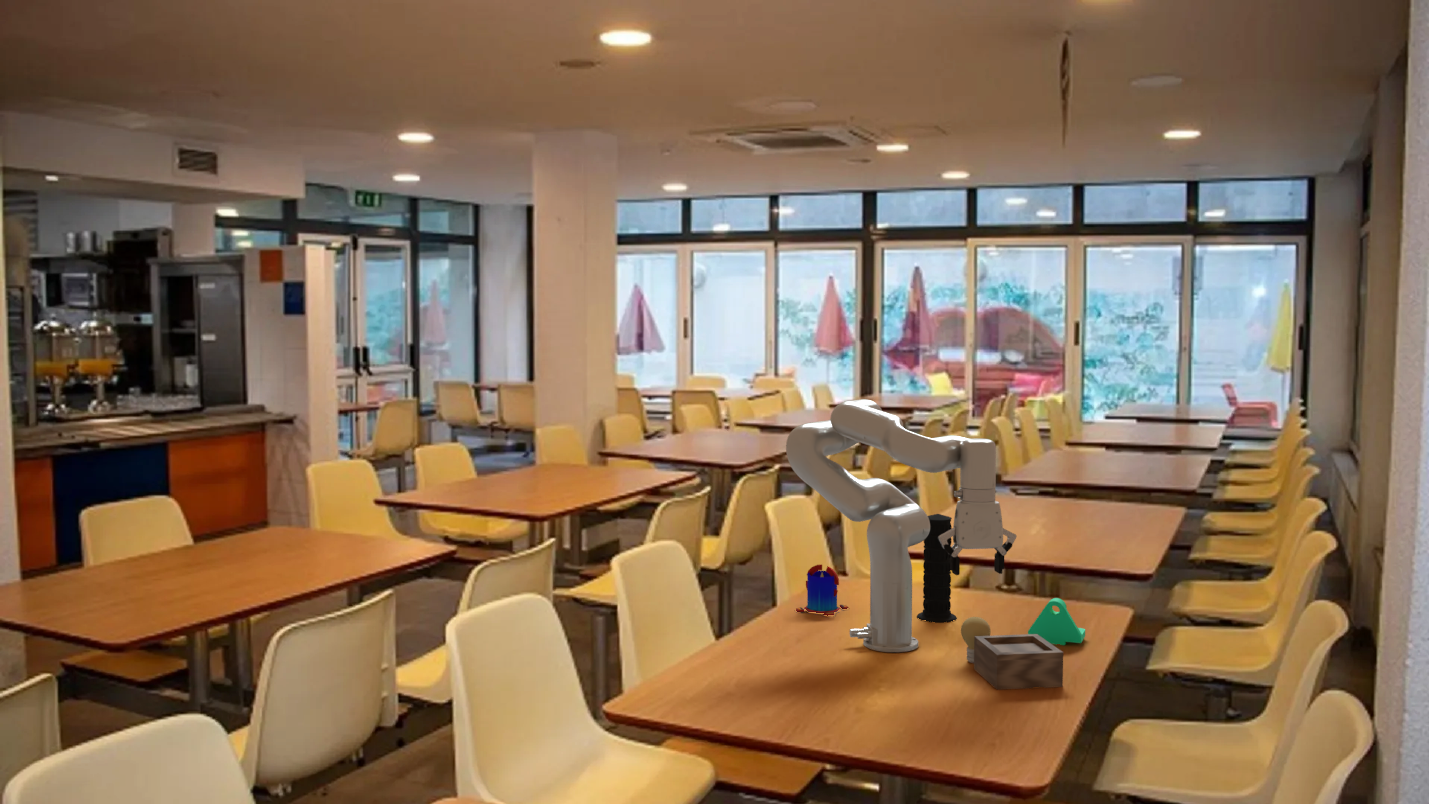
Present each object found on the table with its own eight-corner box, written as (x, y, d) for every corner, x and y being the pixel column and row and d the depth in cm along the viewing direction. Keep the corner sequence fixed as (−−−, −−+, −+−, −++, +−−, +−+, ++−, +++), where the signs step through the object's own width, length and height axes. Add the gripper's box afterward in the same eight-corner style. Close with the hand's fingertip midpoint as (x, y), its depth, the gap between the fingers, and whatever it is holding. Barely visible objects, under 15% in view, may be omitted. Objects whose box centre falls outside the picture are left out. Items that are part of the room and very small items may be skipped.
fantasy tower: (852, 608, 310) (852, 562, 310) (832, 618, 300) (832, 571, 300) (812, 602, 317) (812, 558, 316) (791, 612, 307) (791, 566, 306)
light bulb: (990, 667, 259) (991, 621, 258) (960, 665, 260) (961, 620, 259) (989, 658, 265) (990, 614, 264) (960, 657, 266) (960, 613, 265)
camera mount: (1085, 639, 281) (1086, 596, 280) (1080, 647, 274) (1081, 603, 273) (1033, 633, 286) (1034, 591, 285) (1027, 641, 279) (1028, 598, 278)
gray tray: (996, 689, 243) (997, 654, 243) (974, 669, 257) (974, 636, 257) (1062, 686, 245) (1063, 652, 244) (1036, 666, 259) (1037, 634, 258)
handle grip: (941, 611, 307) (908, 615, 303) (942, 509, 305) (909, 512, 301) (965, 620, 298) (931, 624, 294) (966, 515, 296) (932, 518, 292)
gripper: (944, 499, 255) (943, 578, 256) (1022, 497, 257) (1021, 575, 258) (933, 494, 262) (933, 570, 264) (1009, 492, 264) (1009, 568, 266)
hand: (977, 573), depth 261 cm, fingers open, 9 cm apart
